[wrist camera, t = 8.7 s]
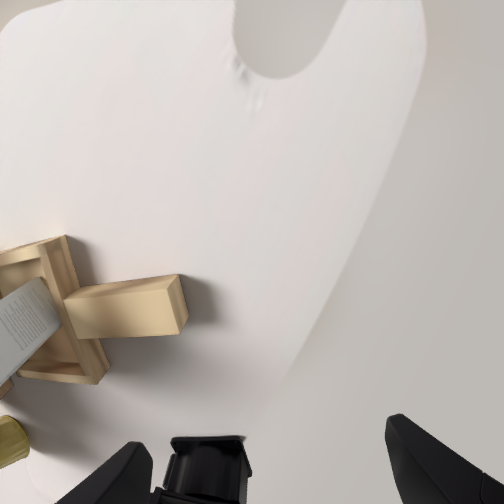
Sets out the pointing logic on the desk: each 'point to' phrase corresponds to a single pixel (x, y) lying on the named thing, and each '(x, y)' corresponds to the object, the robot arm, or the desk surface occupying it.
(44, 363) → the wooden tray with handle
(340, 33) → the desk surface
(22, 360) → the skincare box
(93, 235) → the desk surface
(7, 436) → the vase
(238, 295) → the desk surface
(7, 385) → the wooden open box
